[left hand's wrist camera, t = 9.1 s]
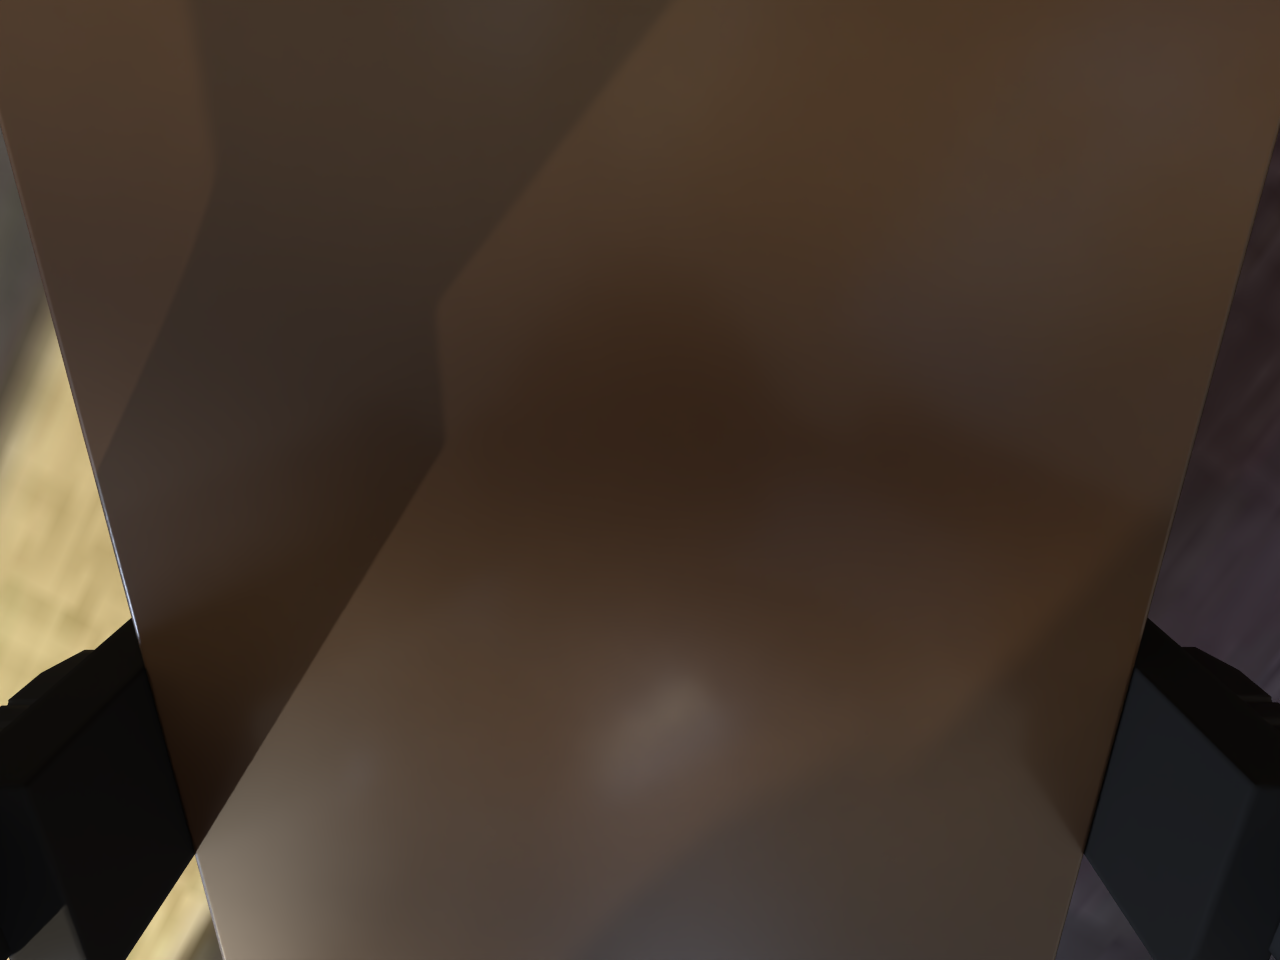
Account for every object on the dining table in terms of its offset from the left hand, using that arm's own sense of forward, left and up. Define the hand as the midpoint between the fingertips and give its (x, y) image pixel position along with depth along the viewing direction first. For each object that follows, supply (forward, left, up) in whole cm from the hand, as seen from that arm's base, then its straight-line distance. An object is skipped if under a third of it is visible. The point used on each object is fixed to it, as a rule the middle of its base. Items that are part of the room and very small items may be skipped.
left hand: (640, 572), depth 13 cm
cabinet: (+5, 0, -3) cm, 6 cm away
